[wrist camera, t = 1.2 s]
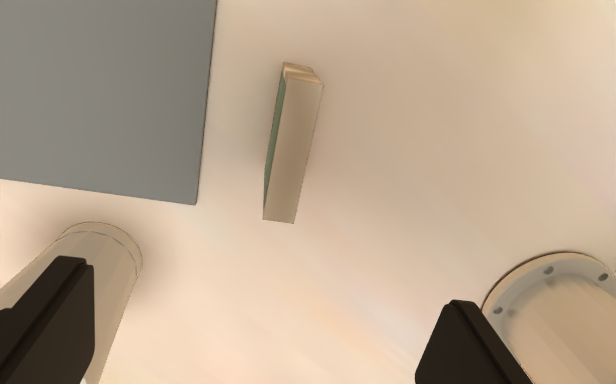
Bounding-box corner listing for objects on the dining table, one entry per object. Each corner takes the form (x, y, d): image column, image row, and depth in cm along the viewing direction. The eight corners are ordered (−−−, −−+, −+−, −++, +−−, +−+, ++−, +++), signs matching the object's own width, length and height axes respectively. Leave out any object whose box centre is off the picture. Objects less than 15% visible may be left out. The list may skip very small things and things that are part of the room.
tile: (310, 67, 26) (323, 85, 20) (288, 177, 29) (293, 223, 23) (282, 62, 26) (287, 78, 19) (263, 173, 29) (262, 219, 22)
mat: (217, -4, 24) (216, -5, 23) (196, 201, 29) (195, 205, 29) (-64, -68, 21) (-73, -70, 21) (-29, 170, 27) (-35, 173, 26)
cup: (42, 203, 28) (-101, 323, 17) (157, 222, 30) (92, 344, 19) (44, 291, 31) (-76, 440, 20) (148, 304, 33) (88, 450, 22)
